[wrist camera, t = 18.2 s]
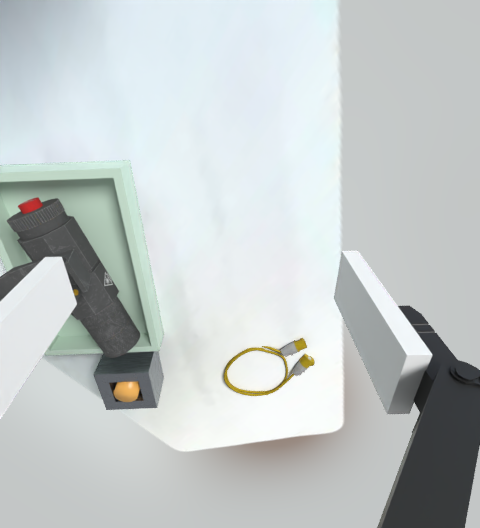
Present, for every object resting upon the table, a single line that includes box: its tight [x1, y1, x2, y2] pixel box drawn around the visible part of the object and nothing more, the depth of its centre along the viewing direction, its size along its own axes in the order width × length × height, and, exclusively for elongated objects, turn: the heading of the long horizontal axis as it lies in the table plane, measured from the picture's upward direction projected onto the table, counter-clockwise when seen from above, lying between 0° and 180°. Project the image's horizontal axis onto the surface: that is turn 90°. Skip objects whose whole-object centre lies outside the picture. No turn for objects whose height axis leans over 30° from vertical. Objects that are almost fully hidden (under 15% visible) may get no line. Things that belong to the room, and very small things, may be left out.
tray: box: [0, 160, 164, 356], centre depth 44 cm, size 27×17×4 cm, turn 2°
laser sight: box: [0, 197, 140, 358], centre depth 41 cm, size 10×22×10 cm, turn 17°
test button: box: [114, 381, 140, 402], centre depth 52 cm, size 4×4×5 cm
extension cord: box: [224, 338, 314, 396], centre depth 56 cm, size 12×16×2 cm
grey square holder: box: [94, 351, 164, 410], centre depth 53 cm, size 8×8×6 cm
